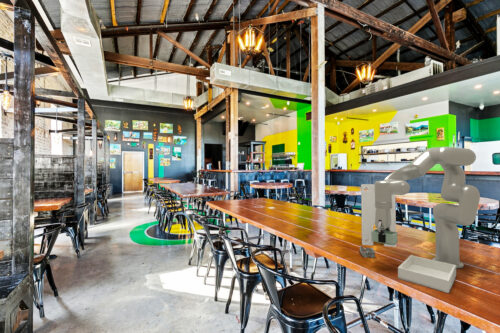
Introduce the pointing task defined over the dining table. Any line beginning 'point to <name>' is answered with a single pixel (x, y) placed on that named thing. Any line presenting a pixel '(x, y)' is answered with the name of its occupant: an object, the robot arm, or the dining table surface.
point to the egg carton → (367, 252)
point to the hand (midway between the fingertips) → (384, 240)
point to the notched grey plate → (373, 214)
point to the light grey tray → (428, 273)
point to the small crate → (390, 237)
